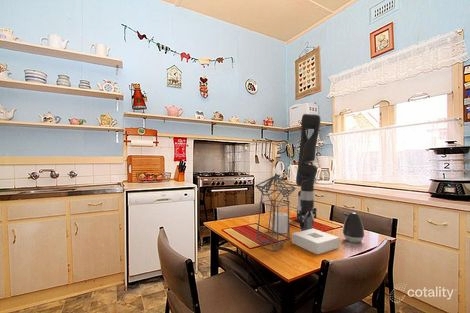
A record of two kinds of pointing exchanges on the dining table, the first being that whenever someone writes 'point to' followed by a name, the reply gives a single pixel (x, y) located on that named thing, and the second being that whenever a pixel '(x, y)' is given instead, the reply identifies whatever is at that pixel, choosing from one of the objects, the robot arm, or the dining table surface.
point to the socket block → (315, 241)
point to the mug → (280, 222)
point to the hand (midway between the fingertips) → (306, 227)
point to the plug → (308, 223)
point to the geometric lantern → (274, 209)
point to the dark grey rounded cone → (353, 228)
